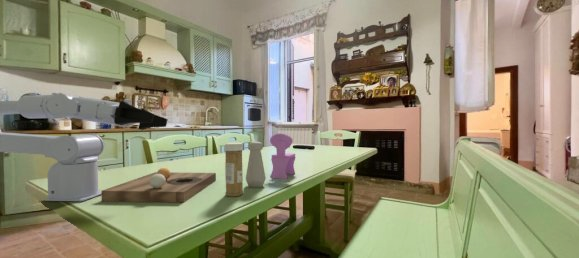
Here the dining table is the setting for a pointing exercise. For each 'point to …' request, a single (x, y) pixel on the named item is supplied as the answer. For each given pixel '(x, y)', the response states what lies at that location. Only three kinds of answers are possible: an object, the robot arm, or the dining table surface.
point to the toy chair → (282, 156)
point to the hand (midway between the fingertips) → (159, 120)
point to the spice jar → (233, 169)
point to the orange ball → (164, 172)
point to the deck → (173, 190)
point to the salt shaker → (255, 166)
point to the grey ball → (157, 181)
